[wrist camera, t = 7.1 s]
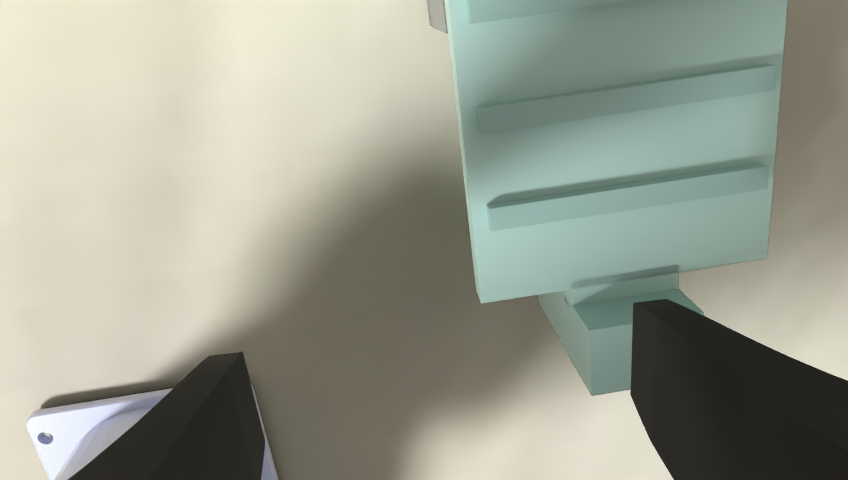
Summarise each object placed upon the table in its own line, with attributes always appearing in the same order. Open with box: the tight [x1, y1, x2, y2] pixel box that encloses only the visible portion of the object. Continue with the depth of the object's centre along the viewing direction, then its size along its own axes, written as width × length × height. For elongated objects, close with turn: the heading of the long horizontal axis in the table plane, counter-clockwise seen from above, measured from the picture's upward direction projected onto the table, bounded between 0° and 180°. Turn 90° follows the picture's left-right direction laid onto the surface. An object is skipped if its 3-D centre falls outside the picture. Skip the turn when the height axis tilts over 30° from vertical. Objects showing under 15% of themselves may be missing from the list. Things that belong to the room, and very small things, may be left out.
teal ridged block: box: [444, 0, 788, 396], centre depth 17 cm, size 12×8×6 cm, turn 7°
